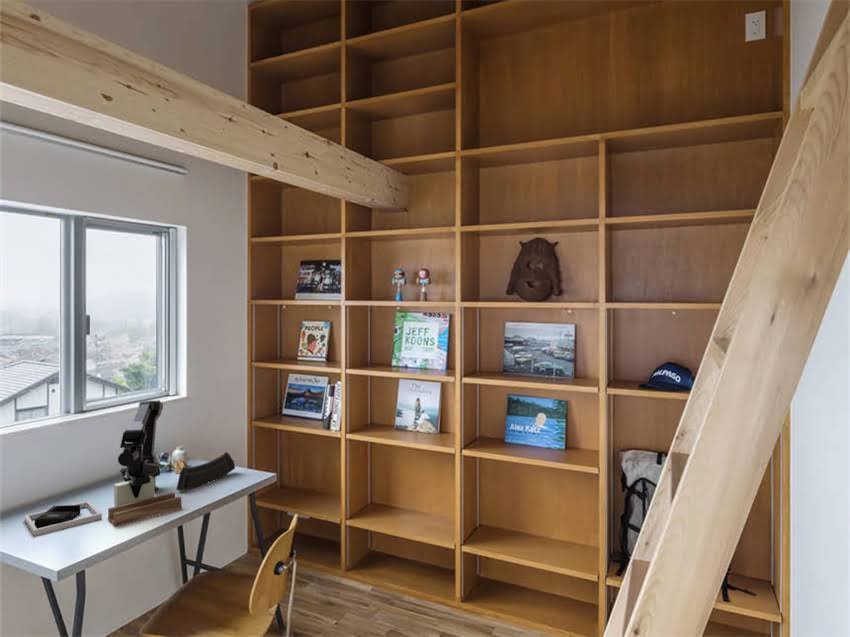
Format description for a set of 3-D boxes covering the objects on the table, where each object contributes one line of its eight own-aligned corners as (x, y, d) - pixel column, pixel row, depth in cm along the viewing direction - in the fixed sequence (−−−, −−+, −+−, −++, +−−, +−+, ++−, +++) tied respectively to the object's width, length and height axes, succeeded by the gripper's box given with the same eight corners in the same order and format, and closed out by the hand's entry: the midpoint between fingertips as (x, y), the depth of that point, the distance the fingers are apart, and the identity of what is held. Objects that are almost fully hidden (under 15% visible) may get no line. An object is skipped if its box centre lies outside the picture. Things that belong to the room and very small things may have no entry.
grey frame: (24, 520, 198) (24, 515, 197) (88, 505, 213) (88, 500, 213) (34, 536, 185) (34, 530, 185) (101, 518, 200) (101, 513, 200)
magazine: (176, 474, 225) (228, 439, 250) (171, 473, 226) (223, 438, 251) (186, 508, 230) (236, 470, 255) (181, 507, 231) (231, 469, 256)
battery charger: (63, 528, 192) (62, 518, 192) (34, 530, 190) (34, 519, 190) (80, 514, 205) (80, 504, 205) (53, 515, 203) (53, 505, 203)
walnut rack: (107, 519, 199) (107, 508, 199) (173, 502, 217) (173, 492, 217) (115, 526, 193) (115, 514, 193) (181, 508, 210) (181, 497, 210)
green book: (114, 508, 210) (114, 484, 210) (151, 499, 220) (151, 475, 220) (117, 511, 208) (116, 486, 207) (154, 501, 218) (154, 477, 217)
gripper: (163, 459, 213) (163, 497, 213) (147, 450, 226) (148, 485, 226) (133, 465, 205) (134, 504, 205) (119, 455, 218) (119, 492, 218)
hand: (134, 496), depth 214 cm, fingers closed on green book, 3 cm apart
